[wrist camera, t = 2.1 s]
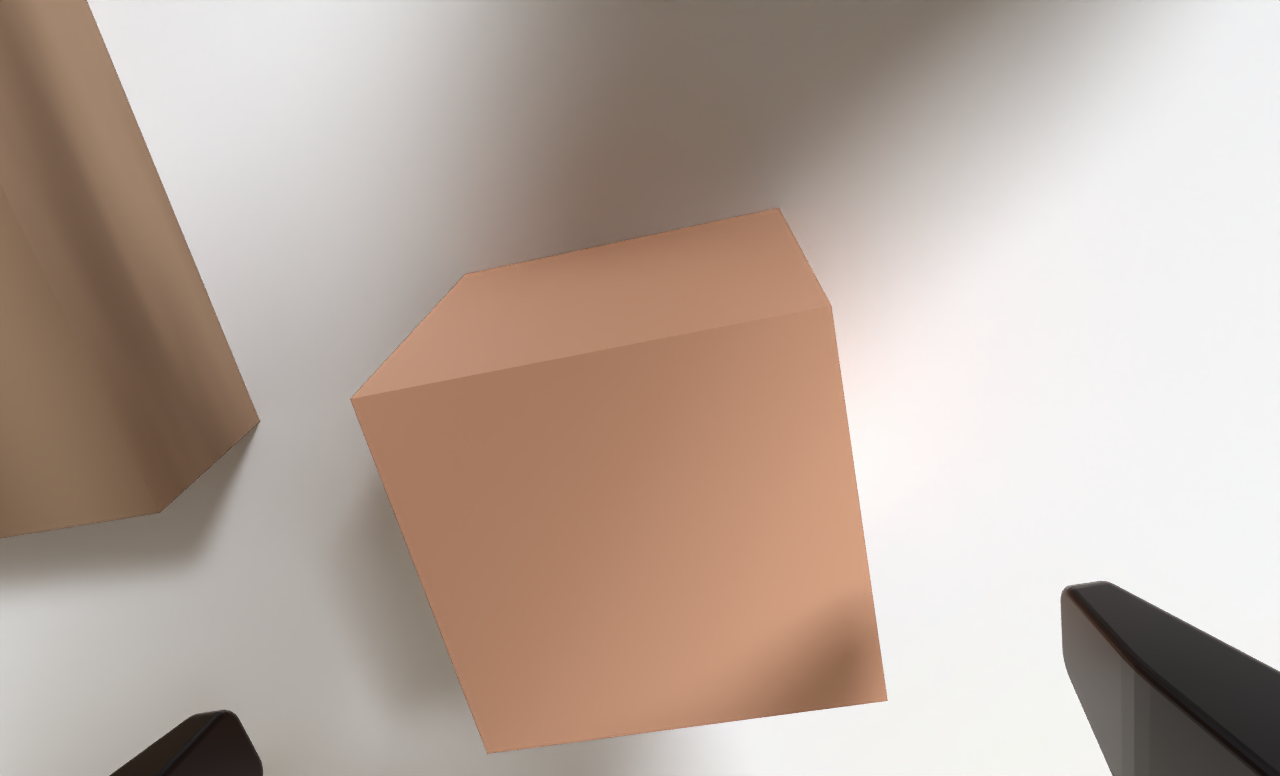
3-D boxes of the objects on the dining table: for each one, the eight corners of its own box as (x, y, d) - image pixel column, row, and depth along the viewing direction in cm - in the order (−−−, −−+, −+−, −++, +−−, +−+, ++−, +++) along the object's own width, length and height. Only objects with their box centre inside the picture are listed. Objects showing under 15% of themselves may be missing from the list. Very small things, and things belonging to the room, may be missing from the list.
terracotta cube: (777, 206, 15) (831, 305, 10) (823, 489, 17) (887, 700, 12) (466, 273, 16) (350, 399, 10) (547, 535, 18) (487, 753, 13)
